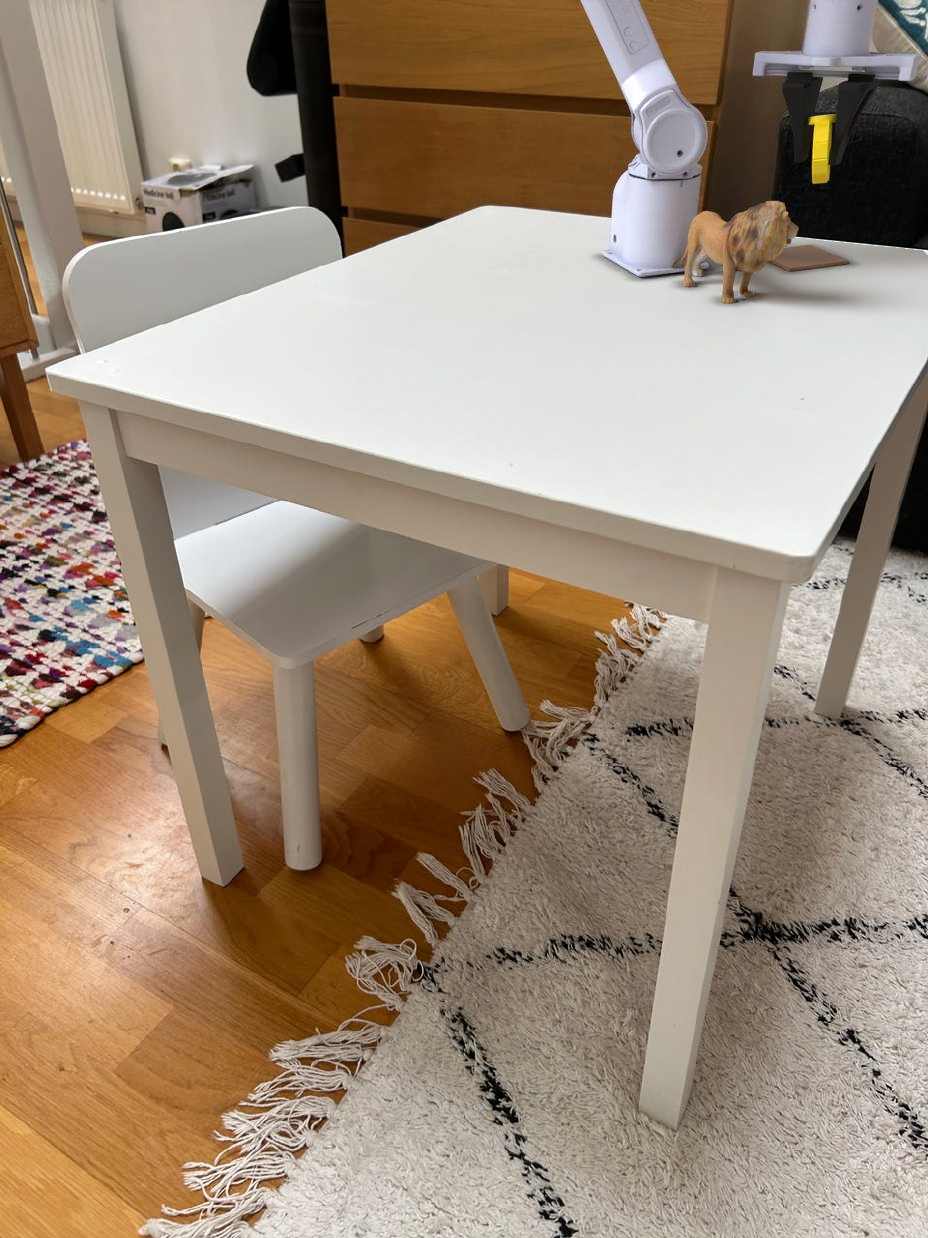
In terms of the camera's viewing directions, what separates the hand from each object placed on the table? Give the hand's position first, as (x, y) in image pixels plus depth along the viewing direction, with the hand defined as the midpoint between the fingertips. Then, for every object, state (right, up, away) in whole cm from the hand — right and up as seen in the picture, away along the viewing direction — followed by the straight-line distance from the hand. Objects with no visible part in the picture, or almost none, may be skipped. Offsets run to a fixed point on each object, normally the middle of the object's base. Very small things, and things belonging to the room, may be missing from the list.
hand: (817, 161), depth 94 cm
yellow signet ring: (0, -2, 0) cm, 2 cm away
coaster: (+1, -7, +7) cm, 10 cm away
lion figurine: (-10, -13, -1) cm, 16 cm away
